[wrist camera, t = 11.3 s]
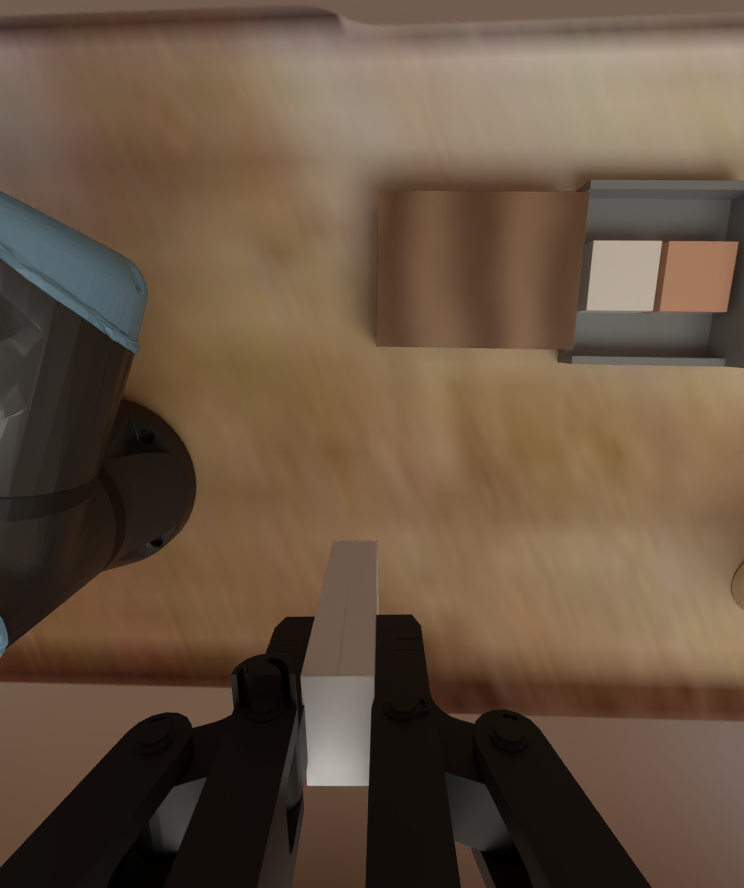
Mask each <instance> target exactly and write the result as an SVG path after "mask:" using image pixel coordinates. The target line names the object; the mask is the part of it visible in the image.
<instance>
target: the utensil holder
mask: <svg viewBox="0 0 744 888" xmlns="http://www.w3.org/2000/svg"><path fill="white" fill-rule="evenodd" d="M732 594H733V597H734V600H735V601H736V603H737V604H738V605H739V606H740V607H741V608H742V609H743V610H744V563H743V564H742V565H741V566H740V568H739V569H738V570H737V572H736V574H735V576H734V578H733V582H732Z"/></svg>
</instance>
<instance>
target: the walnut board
mask: <svg viewBox="0 0 744 888" xmlns="http://www.w3.org/2000/svg"><path fill="white" fill-rule="evenodd" d="M589 194H590V192H537V191H393V190H379V210H378V267H377V323H376V346H387V347H447V348H506V349H565V350H573V344H574V335H575V326H576V316H577V307H578V297H579V288H580V279H581V269H582V260H583V250H584V241H585V231H586V222H587V213H588V203H589Z"/></svg>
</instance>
